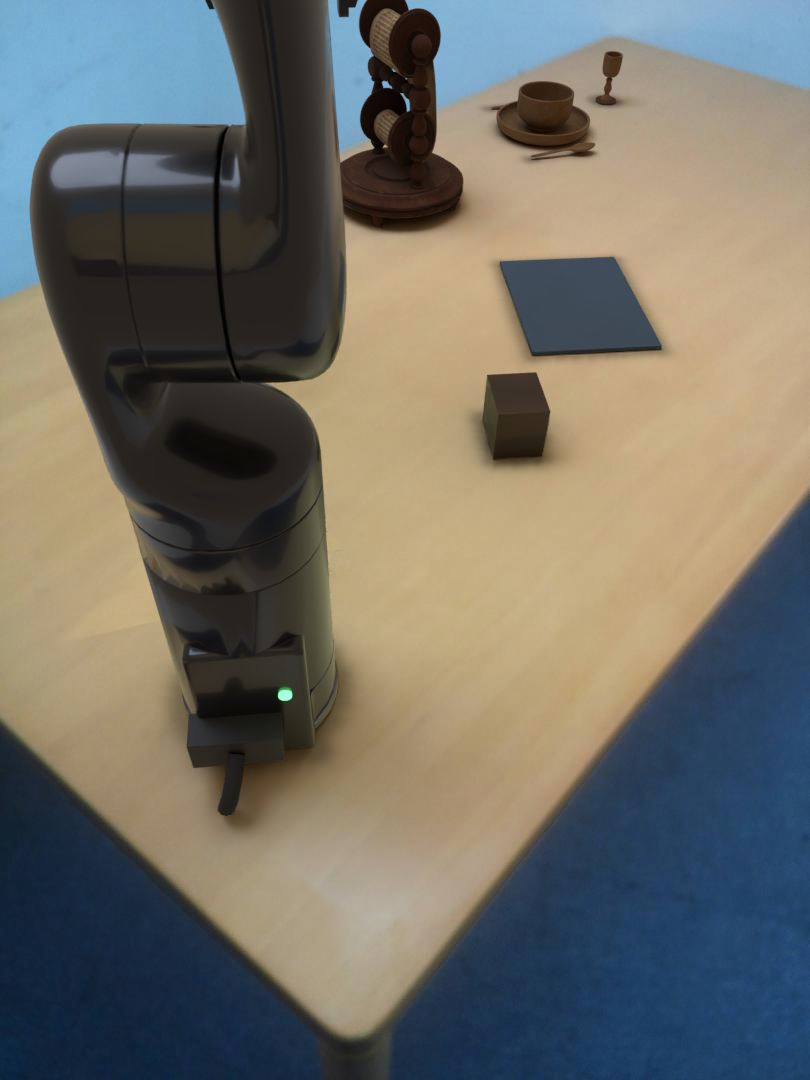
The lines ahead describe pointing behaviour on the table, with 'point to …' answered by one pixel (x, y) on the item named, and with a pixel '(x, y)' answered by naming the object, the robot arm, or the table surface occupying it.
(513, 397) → the walnut block
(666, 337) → the table surface
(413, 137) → the brown wooden upright stand
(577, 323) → the grey mat
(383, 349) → the table surface
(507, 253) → the table surface
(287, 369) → the robot arm
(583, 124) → the place setting
